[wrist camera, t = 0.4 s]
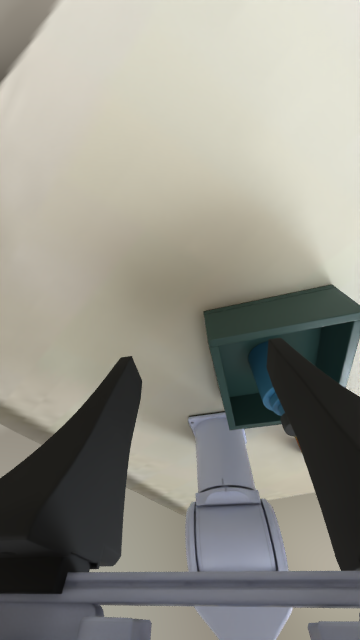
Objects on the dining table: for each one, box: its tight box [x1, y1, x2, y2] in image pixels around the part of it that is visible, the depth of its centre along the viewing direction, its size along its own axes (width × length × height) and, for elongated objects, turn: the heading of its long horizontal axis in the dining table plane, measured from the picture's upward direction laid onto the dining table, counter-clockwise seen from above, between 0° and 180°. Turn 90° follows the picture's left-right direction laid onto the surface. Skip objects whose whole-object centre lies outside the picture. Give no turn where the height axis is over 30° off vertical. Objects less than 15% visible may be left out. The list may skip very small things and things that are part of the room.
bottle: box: [248, 341, 296, 437], centre depth 21 cm, size 5×5×8 cm
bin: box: [204, 285, 360, 430], centre depth 23 cm, size 15×12×5 cm
